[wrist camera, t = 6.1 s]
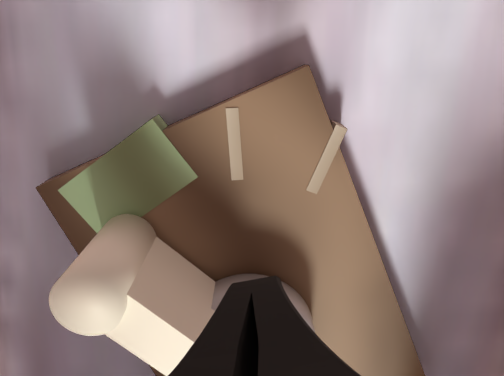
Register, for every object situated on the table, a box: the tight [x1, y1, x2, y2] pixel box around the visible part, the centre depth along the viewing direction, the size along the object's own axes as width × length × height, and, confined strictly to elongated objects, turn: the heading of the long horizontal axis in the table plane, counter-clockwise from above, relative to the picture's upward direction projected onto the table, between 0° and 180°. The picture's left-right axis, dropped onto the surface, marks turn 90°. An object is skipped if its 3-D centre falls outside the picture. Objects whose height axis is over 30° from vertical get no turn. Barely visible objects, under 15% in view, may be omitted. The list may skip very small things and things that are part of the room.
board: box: [36, 65, 425, 376], centre depth 19 cm, size 13×18×1 cm
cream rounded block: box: [49, 214, 315, 376], centre depth 16 cm, size 11×6×5 cm, turn 48°
